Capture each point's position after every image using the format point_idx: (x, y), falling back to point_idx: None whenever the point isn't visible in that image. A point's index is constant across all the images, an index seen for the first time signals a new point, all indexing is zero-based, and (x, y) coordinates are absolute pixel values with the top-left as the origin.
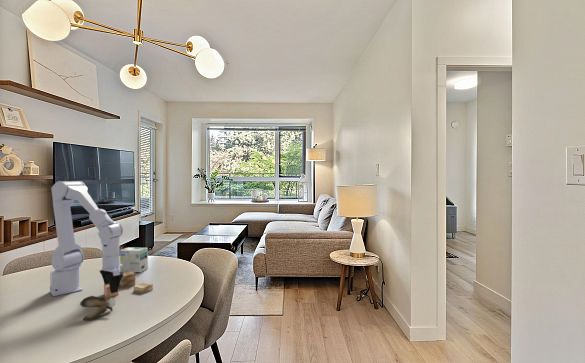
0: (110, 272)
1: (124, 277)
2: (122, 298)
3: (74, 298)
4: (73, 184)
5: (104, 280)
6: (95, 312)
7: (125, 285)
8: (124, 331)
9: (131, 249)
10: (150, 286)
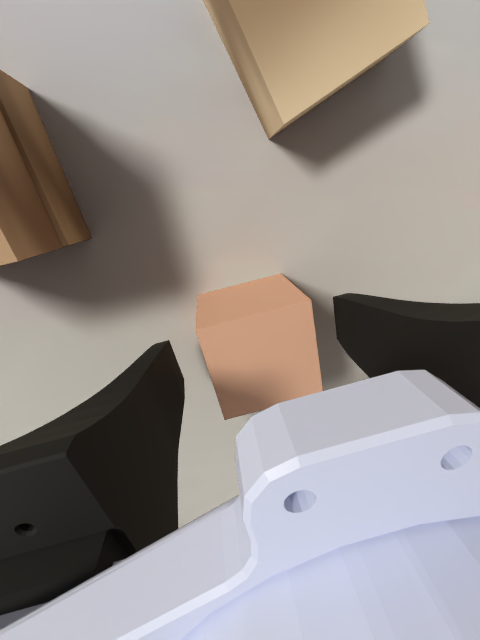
0: (138, 472)
1: (17, 222)
2: (384, 247)
3: (200, 494)
4: None
5: (176, 443)
6: None
7: (71, 207)
8: None
9: None
10: None
